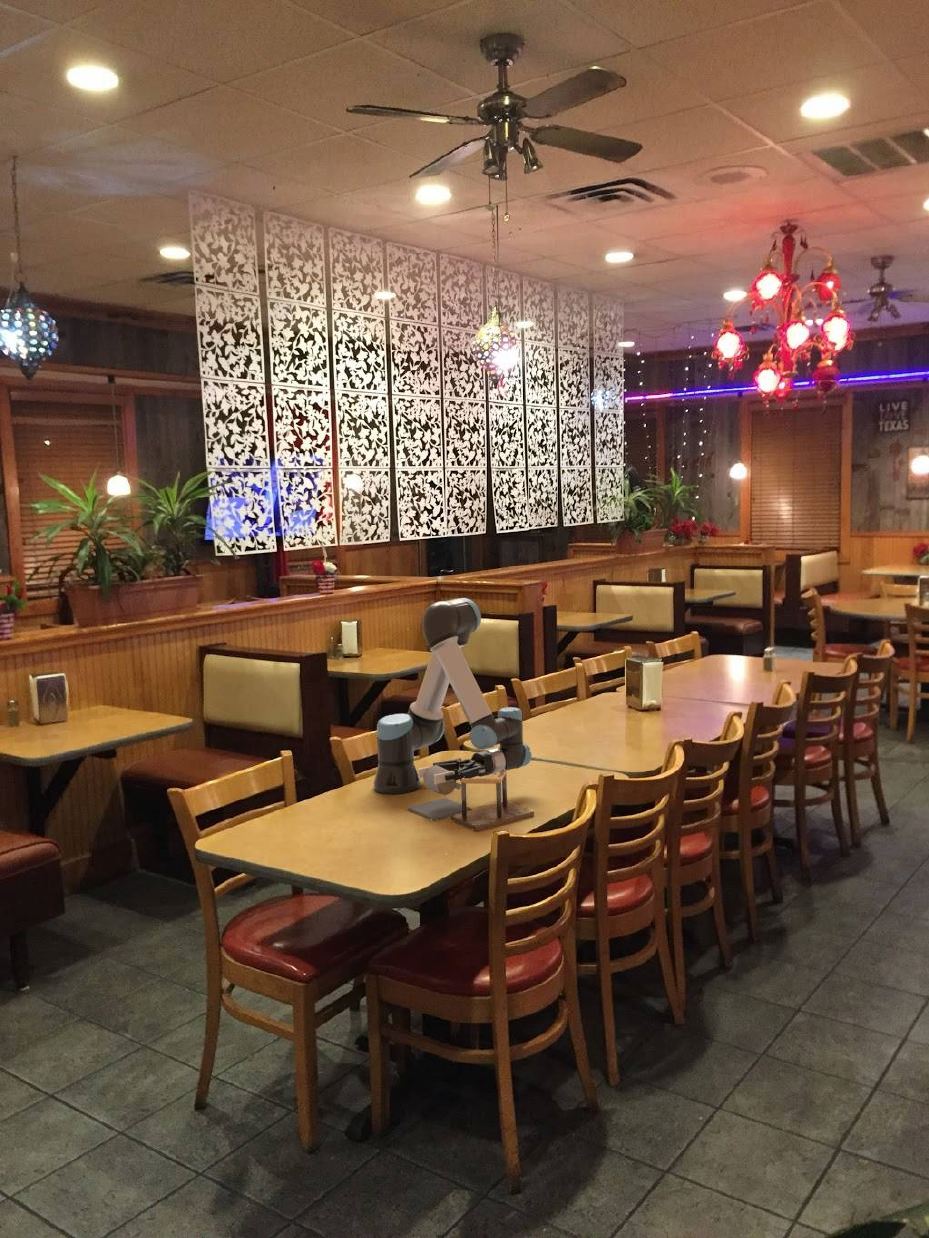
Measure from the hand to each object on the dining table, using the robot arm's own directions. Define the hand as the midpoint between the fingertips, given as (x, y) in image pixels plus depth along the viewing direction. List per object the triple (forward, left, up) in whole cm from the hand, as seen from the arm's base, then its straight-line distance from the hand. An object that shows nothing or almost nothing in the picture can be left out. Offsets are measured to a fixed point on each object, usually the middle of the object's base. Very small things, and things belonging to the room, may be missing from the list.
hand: (426, 776), depth 296 cm
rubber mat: (-1, +5, -11) cm, 12 cm away
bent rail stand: (+16, +12, -11) cm, 23 cm away
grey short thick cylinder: (0, +6, -6) cm, 9 cm away
